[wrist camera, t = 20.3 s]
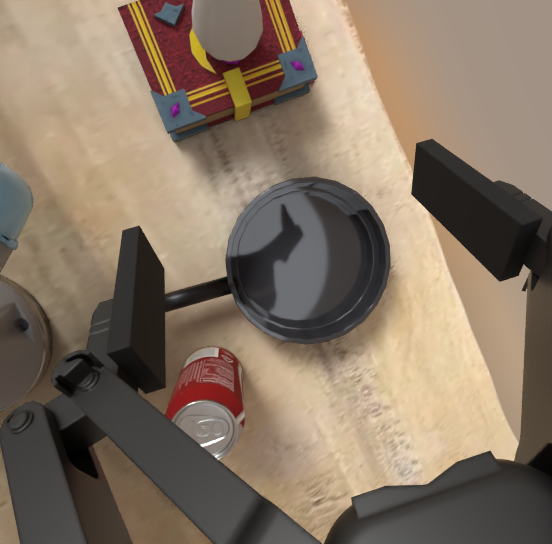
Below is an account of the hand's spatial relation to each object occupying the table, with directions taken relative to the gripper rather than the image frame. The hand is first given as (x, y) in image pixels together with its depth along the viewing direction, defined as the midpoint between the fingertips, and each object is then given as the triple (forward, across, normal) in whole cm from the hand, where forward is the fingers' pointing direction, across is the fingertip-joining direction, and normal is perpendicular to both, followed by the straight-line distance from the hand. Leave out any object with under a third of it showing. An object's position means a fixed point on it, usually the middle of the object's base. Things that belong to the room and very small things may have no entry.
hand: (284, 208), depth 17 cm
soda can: (+9, -11, -25) cm, 29 cm away
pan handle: (+13, -11, -16) cm, 23 cm away
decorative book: (+28, +1, 0) cm, 28 cm away
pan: (+15, +3, -18) cm, 23 cm away
